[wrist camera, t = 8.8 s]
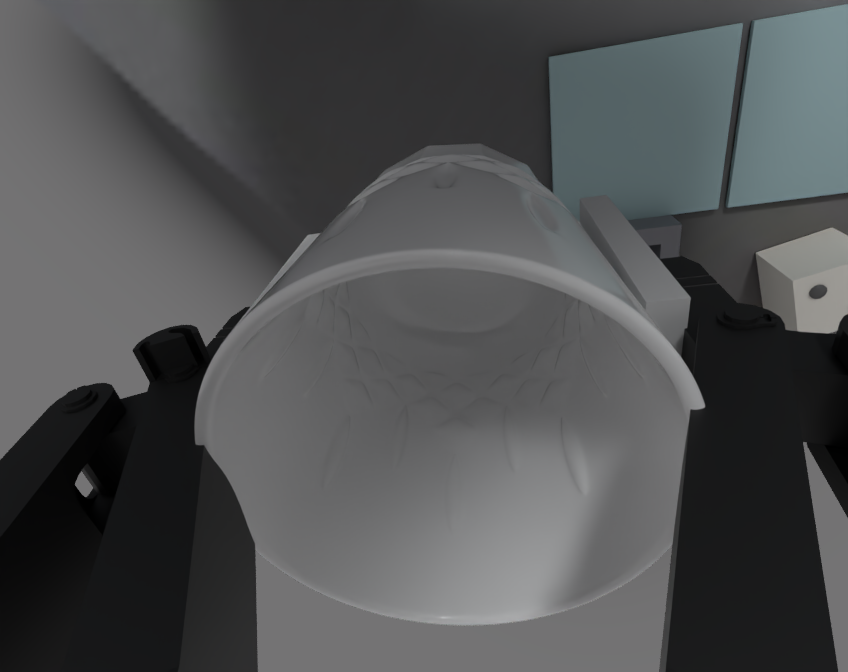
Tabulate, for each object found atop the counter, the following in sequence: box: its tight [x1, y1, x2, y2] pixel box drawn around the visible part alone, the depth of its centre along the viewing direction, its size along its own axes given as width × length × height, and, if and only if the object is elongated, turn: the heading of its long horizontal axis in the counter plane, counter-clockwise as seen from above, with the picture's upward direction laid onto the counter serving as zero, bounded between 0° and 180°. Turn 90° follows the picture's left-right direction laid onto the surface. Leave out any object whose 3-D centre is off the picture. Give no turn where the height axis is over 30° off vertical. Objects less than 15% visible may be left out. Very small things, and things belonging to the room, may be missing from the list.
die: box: [756, 227, 848, 334], centre depth 28 cm, size 4×4×4 cm
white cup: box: [194, 143, 705, 625], centre depth 12 cm, size 8×8×10 cm
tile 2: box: [725, 4, 848, 208], centre depth 25 cm, size 9×9×1 cm
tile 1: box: [548, 23, 743, 222], centre depth 27 cm, size 9×9×1 cm
